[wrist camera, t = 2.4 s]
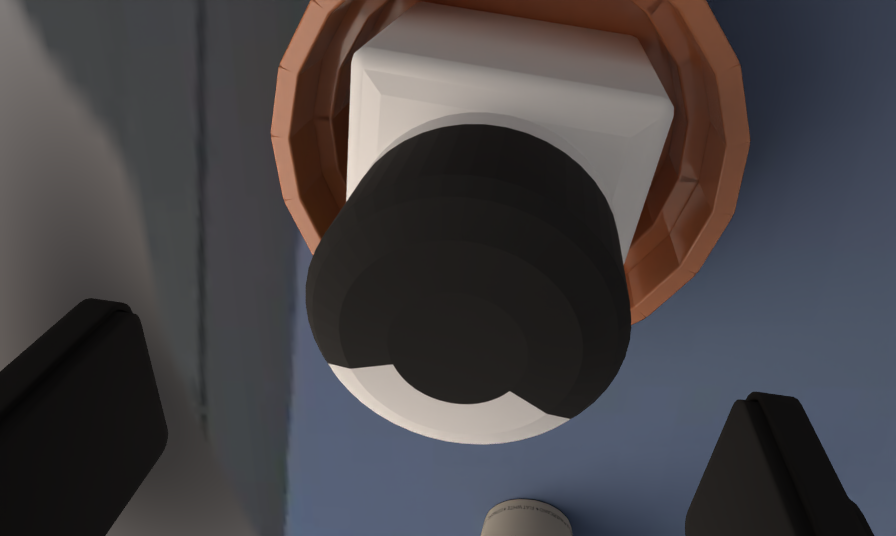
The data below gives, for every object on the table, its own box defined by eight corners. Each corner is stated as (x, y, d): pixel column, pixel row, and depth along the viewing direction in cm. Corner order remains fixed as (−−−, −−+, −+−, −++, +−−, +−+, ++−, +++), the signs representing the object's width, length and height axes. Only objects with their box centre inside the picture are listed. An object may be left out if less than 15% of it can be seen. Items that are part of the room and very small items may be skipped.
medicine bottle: (413, -3, 19) (250, 120, 9) (642, 34, 19) (741, 207, 9) (396, 201, 23) (268, 447, 13) (585, 236, 22) (606, 519, 12)
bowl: (457, -211, 16) (426, -241, 13) (805, 80, 19) (866, 128, 15) (264, 157, 23) (207, 210, 19) (539, 337, 26) (536, 414, 22)
